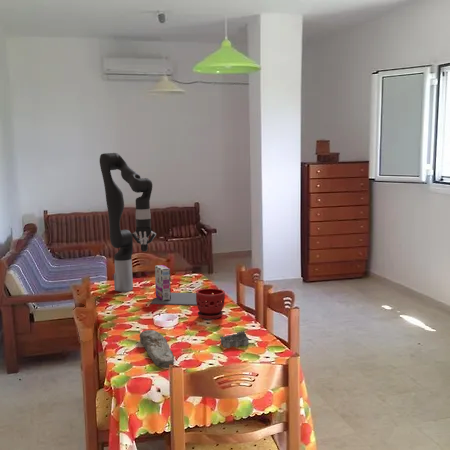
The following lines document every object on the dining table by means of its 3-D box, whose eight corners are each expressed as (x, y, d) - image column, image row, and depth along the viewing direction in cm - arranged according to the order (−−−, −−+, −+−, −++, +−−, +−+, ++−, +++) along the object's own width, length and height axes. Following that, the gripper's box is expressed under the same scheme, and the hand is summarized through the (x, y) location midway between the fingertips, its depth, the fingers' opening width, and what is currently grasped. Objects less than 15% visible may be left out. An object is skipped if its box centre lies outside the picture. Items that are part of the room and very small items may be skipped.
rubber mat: (150, 304, 269) (150, 302, 268) (162, 293, 288) (162, 292, 288) (197, 305, 264) (197, 304, 264) (205, 294, 284) (205, 293, 284)
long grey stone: (152, 374, 189) (180, 371, 192) (152, 360, 188) (180, 357, 191) (135, 336, 221) (159, 334, 224) (135, 324, 220) (159, 322, 223)
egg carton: (245, 340, 216) (245, 330, 216) (250, 347, 209) (250, 336, 208) (219, 342, 214) (219, 332, 214) (223, 349, 207) (223, 339, 206)
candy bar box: (171, 300, 273) (170, 268, 270) (162, 301, 270) (161, 269, 268) (164, 294, 283) (163, 264, 280) (155, 296, 280) (154, 265, 278)
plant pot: (222, 321, 239) (221, 295, 238) (193, 320, 242) (192, 294, 240) (227, 312, 252) (227, 287, 250) (200, 311, 255) (199, 286, 253)
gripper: (128, 218, 270) (129, 252, 272) (153, 218, 267) (155, 253, 270) (133, 216, 277) (134, 249, 279) (158, 216, 275) (159, 250, 277)
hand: (144, 251), depth 275 cm, fingers closed
